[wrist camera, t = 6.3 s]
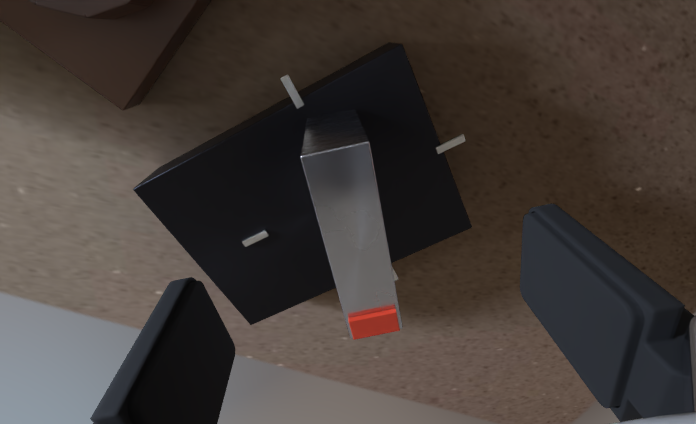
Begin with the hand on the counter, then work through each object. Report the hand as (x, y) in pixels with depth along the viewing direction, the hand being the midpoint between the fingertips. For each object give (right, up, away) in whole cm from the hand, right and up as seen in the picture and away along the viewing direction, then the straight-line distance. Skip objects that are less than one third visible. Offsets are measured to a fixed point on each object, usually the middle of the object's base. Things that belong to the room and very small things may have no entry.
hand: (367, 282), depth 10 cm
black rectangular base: (-3, +3, +10) cm, 11 cm away
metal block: (-1, +3, +7) cm, 8 cm away
